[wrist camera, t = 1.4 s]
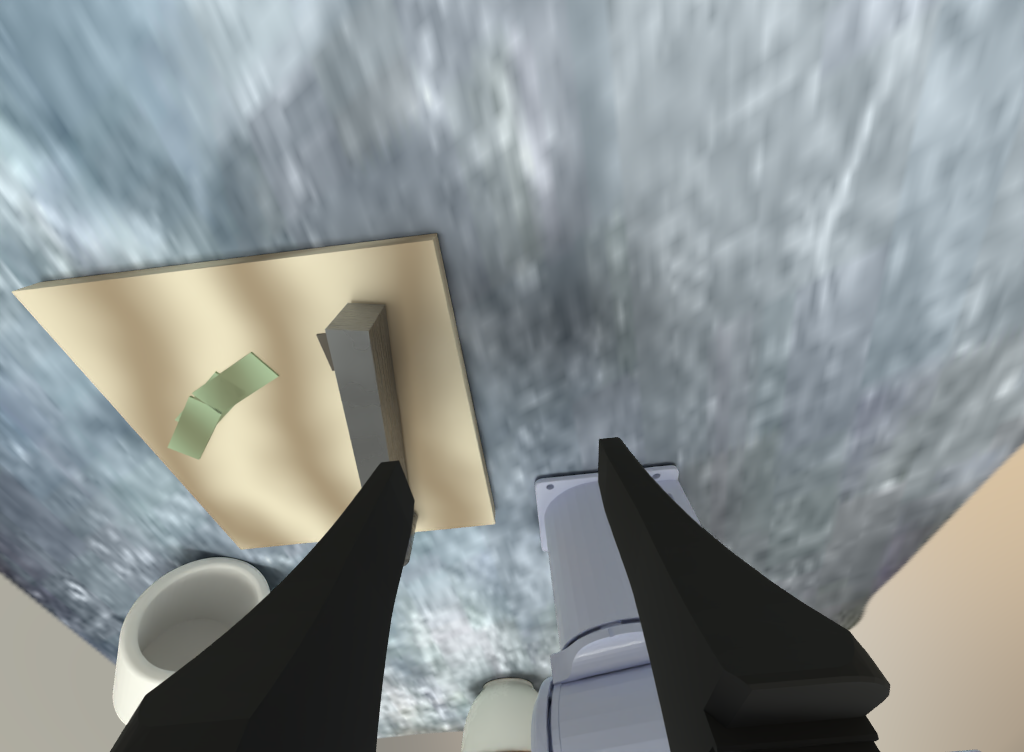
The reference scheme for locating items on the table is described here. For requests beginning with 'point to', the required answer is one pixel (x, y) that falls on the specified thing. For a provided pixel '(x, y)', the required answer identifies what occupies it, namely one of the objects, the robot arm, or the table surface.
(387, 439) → the pointer
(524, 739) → the lidded jar
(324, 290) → the board
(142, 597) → the mug
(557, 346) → the table surface
